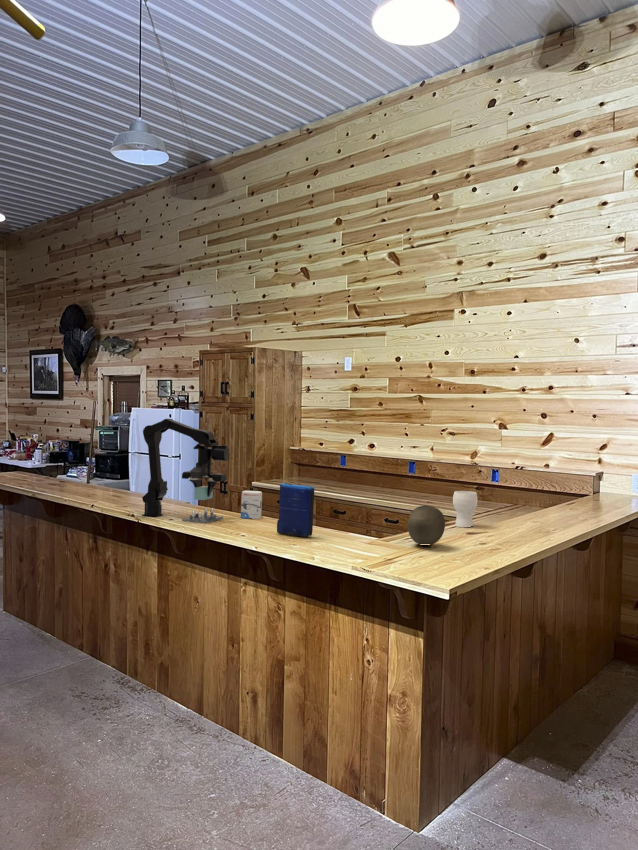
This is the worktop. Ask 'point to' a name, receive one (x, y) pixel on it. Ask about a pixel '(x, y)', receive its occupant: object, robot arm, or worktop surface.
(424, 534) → the dark grey sphere
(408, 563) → the worktop surface
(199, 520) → the metal plate device
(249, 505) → the ink box
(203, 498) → the block
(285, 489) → the book
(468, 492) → the cup
